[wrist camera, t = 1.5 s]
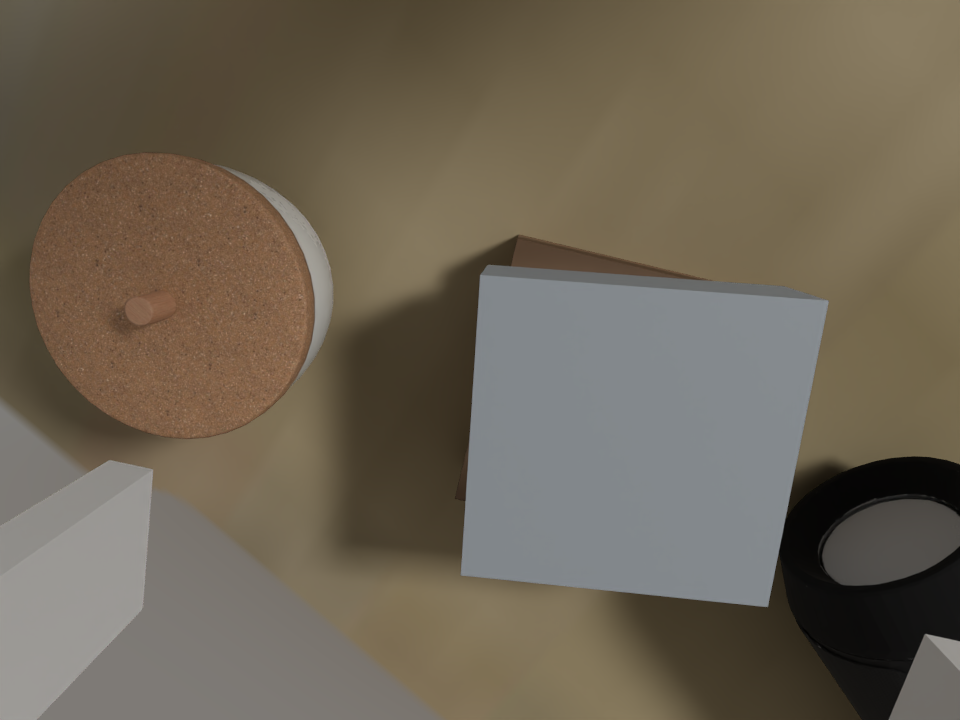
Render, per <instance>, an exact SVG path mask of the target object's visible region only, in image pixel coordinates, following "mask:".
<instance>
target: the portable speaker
mask: <svg viewBox="0 0 960 720" xmlns="http://www.w3.org/2000/svg"><path fill="white" fill-rule="evenodd" d="M779 554H780V560H781V565H782V571H783V577H784V583H785V588H786V594H787V598H788V603H789V605H790V608H791V611H792V613H793V615H794V617H795V619H796V622H797V624H798V625H799V627H800V629H801V630H802V632H803V633H804V635H805V636H806V637H807V639H808V640H809V642H810V643H811V645H812V646H813V648H814V649H815V651H816V652H817V654H818V655H819V657H820V658H821V660H822V661H823V663H824V664H825V666H826V667H827V668H828V670H829V671H830V673H831V674H832V676H833V677H834V679H835V680H836V682H837V683H838V685H839V686H840V688H841V689H842V691H843V692H844V694H845V695H846V697H847V698H848V700H849V701H850V702H851V704H852V705H853V707H854V708H855V710H856V711H857V713H858V714H859V716H860V717H861V719H862V720H889V718H890V715H891V713H892V711H893V708H894V706H895V703H896V701H897V699H898V696H899V694H900V692H901V689H902V687H903V685H904V682H905V680H906V678H907V675H908V673H909V670H910V668H911V666H912V663H913V661H914V659H915V656H916V654H917V652H918V649H919V647H920V644H921V642H922V640H923V637H924V635H925V634H928V635H932V636H937V637H942V638H946V639H951V640H956V641H960V464H957V463H954V462H951V461H947V460H942V459H936V458H930V457H900V458H890V459H885V460H879V461H875V462H871V463H868V464H865V465H861V466H858V467H855V468H852V469H850V470H847V471H845V472H842V473H841V474H839V475H837V476H835V477H833V478H831V479H829V480H827V481H826V482H824V483H822V484H821V485H819V486H818V487H817V488H815V489H814V490H813V491H811V492H810V493H809V494H807V495H806V496H805V497H804V498H803V499H802V500H801V501H800V502H799V503H798V504H797V505H796V506H795V507H794V508H793V509H792V511H791V512H790V514H789V515H788V517H787V519H786V520H785V523H784V528H783V533H782V538H781V543H780V548H779Z"/></svg>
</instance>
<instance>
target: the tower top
mask: <svg viewBox="0 0 960 720" xmlns="http://www.w3.org/2000/svg"><path fill="white" fill-rule="evenodd" d="M828 302H829V301H828V300H825V299H822V298H819V297H816V296H812V295H809V294H806V293H803V292H800V291H797V290H794V289H791V288H788V287H785V286H773V285H759V284H746V283H732V282H718V281H704V280H691V279H677V278H663V277H649V276H636V275H622V274H608V273H595V272H581V271H567V270H553V269H540V268H526V267H512V266H498V265H487V267H486V268H485V269H484V271H483V272H482V273H481V275H480V286H479V301H478V317H477V332H476V348H475V363H474V379H473V394H472V410H471V425H470V441H469V456H468V472H467V487H466V502H465V518H464V533H463V549H462V564H461V575H463V576H472V577H482V578H492V579H501V580H511V581H521V582H530V583H540V584H550V585H559V586H569V587H578V588H588V589H598V590H607V591H617V592H627V593H636V594H646V595H656V596H665V597H675V598H685V599H694V600H704V601H713V602H723V603H733V604H742V605H752V606H762V607H768V604H769V599H770V594H771V589H772V583H773V578H774V573H775V568H776V563H777V558H778V553H779V548H780V543H781V538H782V533H783V528H784V523H785V518H786V513H787V508H788V503H789V498H790V493H791V488H792V483H793V478H794V473H795V468H796V463H797V458H798V453H799V448H800V443H801V438H802V433H803V428H804V423H805V418H806V413H807V408H808V403H809V398H810V393H811V388H812V383H813V378H814V373H815V367H816V362H817V357H818V352H819V347H820V342H821V337H822V332H823V327H824V322H825V317H826V312H827V307H828Z"/></svg>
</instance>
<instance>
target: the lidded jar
mask: <svg viewBox="0 0 960 720" xmlns="http://www.w3.org/2000/svg"><path fill="white" fill-rule="evenodd" d="M29 285H30V292H31V300H32V307H33V310H34V314H35V318H36V322H37V326H38V329H39V331H40V333H41V336H42V338H43V340H44V342H45V345H46V347H47V349H48V351H49V352H50V354H51V356H52V358H53V359H54V361H55V363H56V364H57V366H58V368H59V369H60V370H61V372H62V373H63V374H64V375H65V376H66V378H67V379H68V380H69V381H70V383H71V384H72V385H73V386H74V387H75V388H76V389H77V390H78V391H79V392H80V393H81V394H82V395H83V396H84V397H85V398H86V399H87V400H88V401H89V402H91V403H92V404H94V405H95V406H96V407H98V408H99V409H100V410H102V411H103V412H105V413H106V414H108V415H109V416H111V417H113V418H115V419H116V420H118V421H120V422H122V423H124V424H126V425H128V426H131V427H133V428H136V429H138V430H141V431H144V432H146V433H150V434H155V435H159V436H163V437H169V438H182V439H193V438H206V437H211V436H216V435H220V434H224V433H228V432H230V431H232V430H235V429H237V428H239V427H242V426H244V425H246V424H248V423H249V422H251V421H252V420H254V419H255V418H257V417H258V416H260V415H262V414H263V413H264V412H266V411H267V410H268V409H269V408H270V407H271V406H273V405H274V404H275V403H276V402H277V401H278V400H279V399H280V398H281V397H282V396H283V395H284V394H285V393H286V391H287V390H288V389H289V388H290V387H291V386H292V385H293V384H294V383H295V382H296V381H297V380H298V379H299V378H300V377H301V376H302V375H303V373H304V372H305V371H306V369H307V368H308V367H309V365H310V364H311V363H312V361H313V360H314V358H315V357H316V355H317V353H318V351H319V349H320V347H321V345H322V344H323V342H324V339H325V336H326V333H327V330H328V327H329V324H330V320H331V315H332V308H333V281H332V274H331V268H330V265H329V262H328V259H327V256H326V252H325V250H324V248H323V246H322V244H321V241H320V239H319V237H318V235H317V233H316V232H315V231H314V229H313V228H312V226H311V225H310V223H309V222H308V220H307V219H306V218H305V217H304V216H303V215H302V213H301V212H300V211H299V210H298V209H297V208H296V207H295V206H294V205H293V204H292V203H291V202H289V201H288V200H287V199H286V198H284V197H283V196H282V195H281V194H279V193H278V192H277V191H276V190H274V189H273V188H271V187H270V186H268V185H266V184H264V183H263V182H261V181H259V180H257V179H256V178H253V177H251V176H249V175H246V174H244V173H241V172H239V171H236V170H233V169H231V168H228V167H225V166H220V165H215V164H211V163H208V162H206V161H203V160H200V159H196V158H191V157H186V156H182V155H177V154H170V153H150V152H144V153H136V154H128V155H122V156H119V157H116V158H112V159H109V160H106V161H103V162H101V163H99V164H97V165H95V166H93V167H91V168H90V169H88V170H86V171H84V172H82V173H81V174H80V175H79V176H78V177H76V178H75V179H74V180H73V181H71V182H70V183H69V184H68V185H66V187H65V188H64V189H63V190H62V191H61V192H60V194H59V195H58V196H57V197H56V198H55V199H54V201H53V202H52V204H51V205H50V207H49V209H48V211H47V212H46V214H45V216H44V217H43V219H42V221H41V224H40V227H39V229H38V232H37V235H36V237H35V240H34V244H33V250H32V256H31V261H30V281H29Z"/></svg>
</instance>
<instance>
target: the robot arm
mask: <svg viewBox="0 0 960 720" xmlns="http://www.w3.org/2000/svg"><path fill="white" fill-rule="evenodd" d="M152 478H153V469H149V468H144V467H140V466H135V465H130V464H125V463H121V462H116V461H111V460H109V461H107V462H106V463H104V464H102V465H101V466H99V467H97V468H96V469H94V470H92V471H91V472H89V473H87V474H86V475H84V476H82V477H81V478H79V479H77V480H76V481H74V482H72V483H71V484H69V485H67V486H66V487H64V488H63V489H61V490H59V491H57V492H56V493H54V494H53V495H51V496H49V497H47V498H46V499H44V500H42V501H41V502H39V503H37V504H36V505H34V506H32V507H31V508H29V509H27V510H26V511H24V512H23V513H21V514H19V515H18V516H16V517H14V518H13V519H11V520H9V521H8V522H6V523H5V524H3V525H1V526H0V720H37V719H38V718H39V717H40V716H41V715H42V714H43V713H44V712H45V711H46V710H47V708H48V707H49V706H50V705H51V704H52V703H53V702H54V701H55V700H56V699H57V698H58V697H59V696H60V695H61V694H62V693H63V692H64V691H65V690H66V689H67V688H68V687H69V686H70V685H71V684H72V682H73V681H74V680H75V679H76V678H77V677H78V676H79V675H80V674H81V673H82V672H83V671H84V670H85V669H86V668H87V667H88V666H89V665H90V664H91V663H92V661H94V659H95V658H96V657H97V656H98V655H99V654H100V653H101V652H102V651H103V650H104V649H105V648H106V647H107V646H108V645H109V644H110V643H111V642H112V641H113V640H114V639H115V638H116V636H117V635H118V634H119V633H120V632H121V631H122V630H123V629H124V628H125V627H126V626H127V625H128V624H129V623H130V622H131V621H132V620H133V619H134V618H135V617H136V616H137V615H138V614H139V613H140V611H141V610H142V609H143V599H144V587H145V573H146V560H147V559H146V558H147V546H148V532H149V519H150V505H151V492H152ZM889 720H960V641H956V640H951V639H946V638H942V637H937V636H932V635H928V634H925V635H924V637H923V640H922V642H921V644H920V647H919V649H918V652H917V654H916V656H915V659H914V661H913V663H912V666H911V668H910V670H909V673H908V675H907V678H906V680H905V682H904V685H903V687H902V689H901V692H900V694H899V696H898V699H897V701H896V703H895V706H894V708H893V711H892V713H891V715H890V718H889Z"/></svg>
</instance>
